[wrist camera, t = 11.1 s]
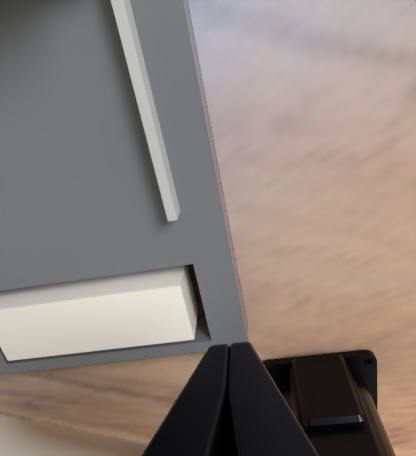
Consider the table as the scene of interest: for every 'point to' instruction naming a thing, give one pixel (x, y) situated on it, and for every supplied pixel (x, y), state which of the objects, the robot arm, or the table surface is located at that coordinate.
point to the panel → (110, 161)
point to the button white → (98, 314)
